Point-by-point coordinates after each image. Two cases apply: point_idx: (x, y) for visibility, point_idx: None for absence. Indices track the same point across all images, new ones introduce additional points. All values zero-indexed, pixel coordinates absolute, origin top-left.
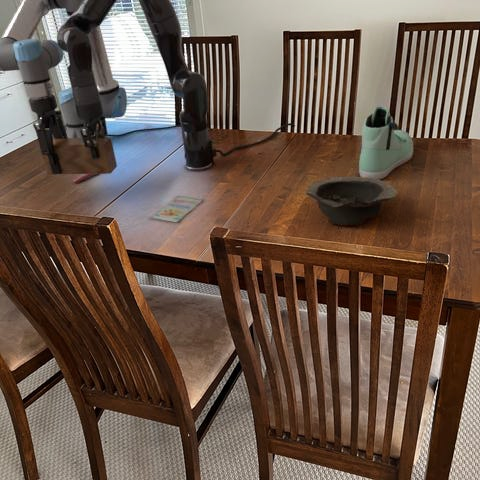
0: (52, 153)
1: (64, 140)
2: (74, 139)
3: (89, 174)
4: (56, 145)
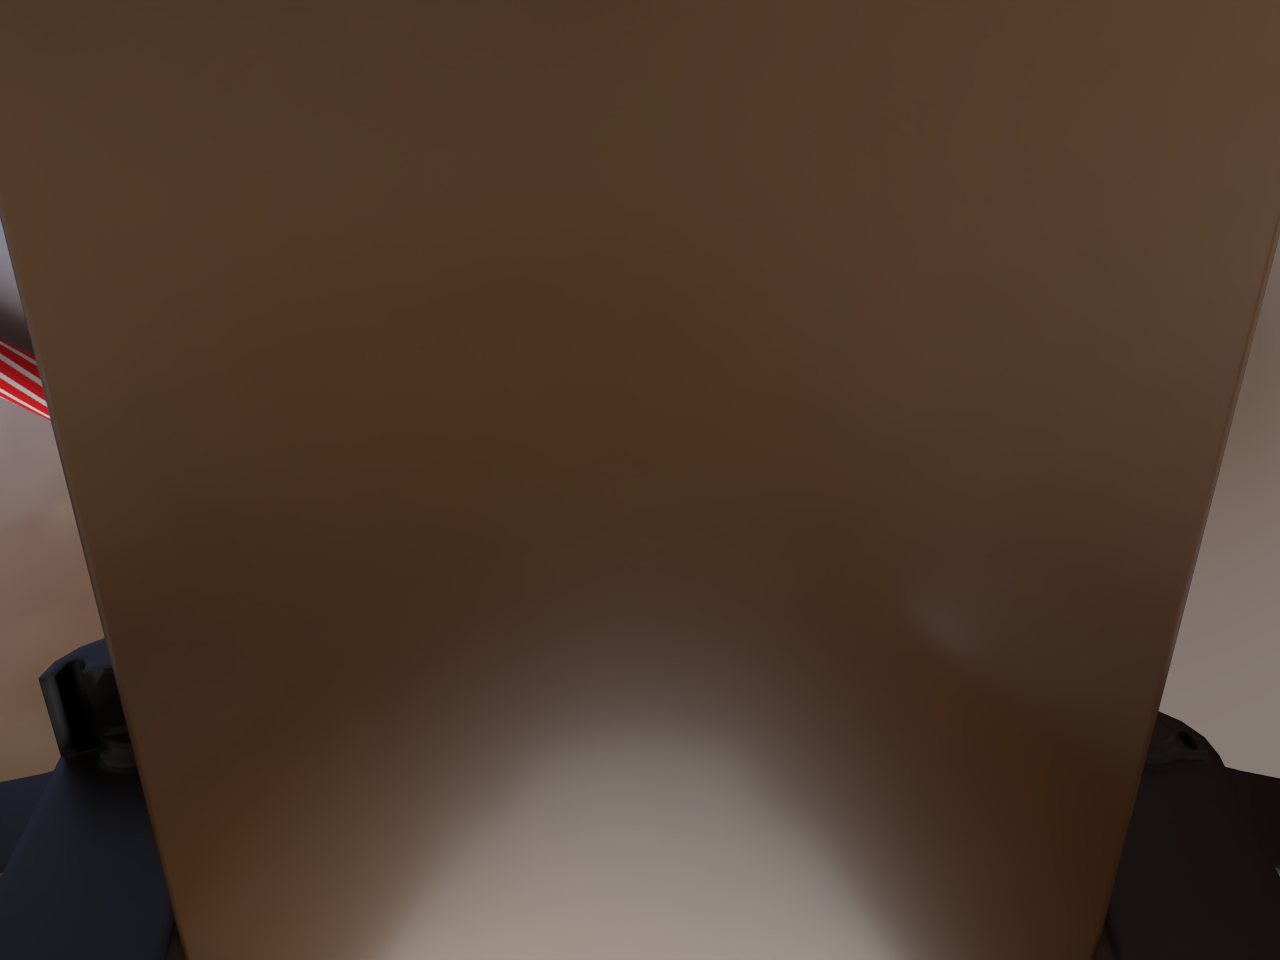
0: (1208, 744)
1: (462, 707)
2: (245, 127)
3: (33, 367)
4: (1122, 811)
